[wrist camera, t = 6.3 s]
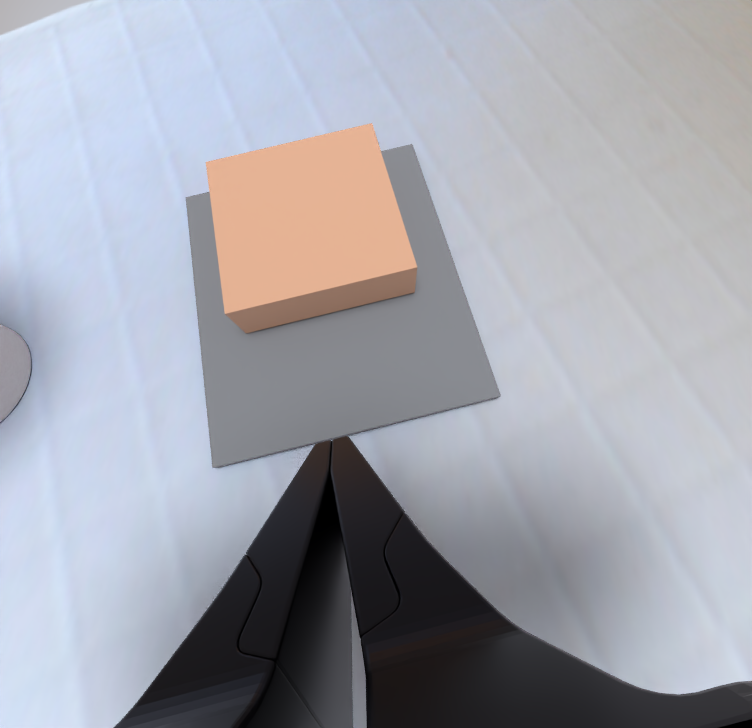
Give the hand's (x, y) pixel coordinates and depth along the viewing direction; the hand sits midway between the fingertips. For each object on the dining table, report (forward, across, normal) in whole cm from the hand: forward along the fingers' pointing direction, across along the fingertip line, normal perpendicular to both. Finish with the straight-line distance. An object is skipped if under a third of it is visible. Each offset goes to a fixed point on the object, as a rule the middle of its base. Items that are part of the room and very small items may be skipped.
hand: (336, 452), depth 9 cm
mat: (+12, 0, -1) cm, 12 cm away
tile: (+10, 0, -1) cm, 10 cm away
